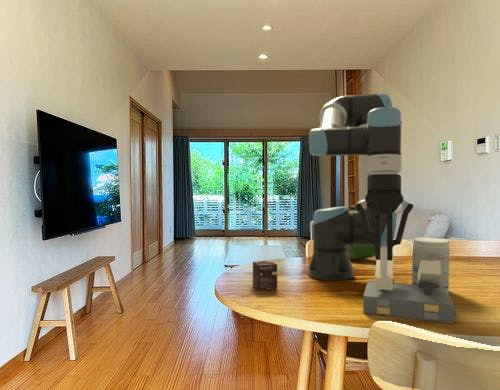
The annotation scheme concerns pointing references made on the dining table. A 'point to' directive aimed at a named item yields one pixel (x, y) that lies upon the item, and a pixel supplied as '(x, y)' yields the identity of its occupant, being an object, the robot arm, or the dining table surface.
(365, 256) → the fruit
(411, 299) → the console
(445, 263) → the supplement tub
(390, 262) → the switch left
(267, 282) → the box
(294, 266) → the dining table surface
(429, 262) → the switch right
